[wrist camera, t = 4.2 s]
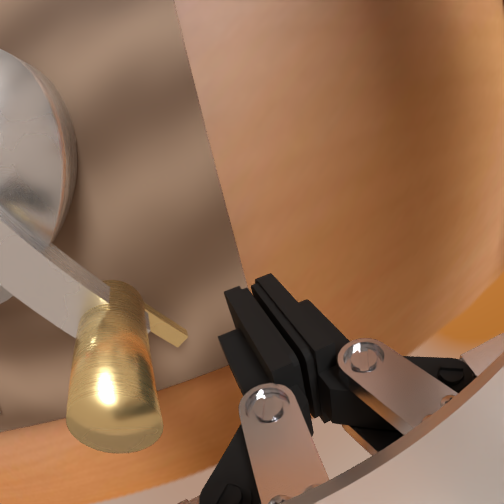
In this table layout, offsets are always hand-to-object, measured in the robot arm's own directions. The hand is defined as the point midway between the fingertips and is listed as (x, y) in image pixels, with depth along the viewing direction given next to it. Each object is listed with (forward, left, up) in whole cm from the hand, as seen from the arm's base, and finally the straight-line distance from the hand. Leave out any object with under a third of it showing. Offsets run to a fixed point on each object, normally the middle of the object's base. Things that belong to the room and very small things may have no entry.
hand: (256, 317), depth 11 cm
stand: (-7, -11, -7) cm, 15 cm away
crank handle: (-5, -7, -5) cm, 10 cm away
